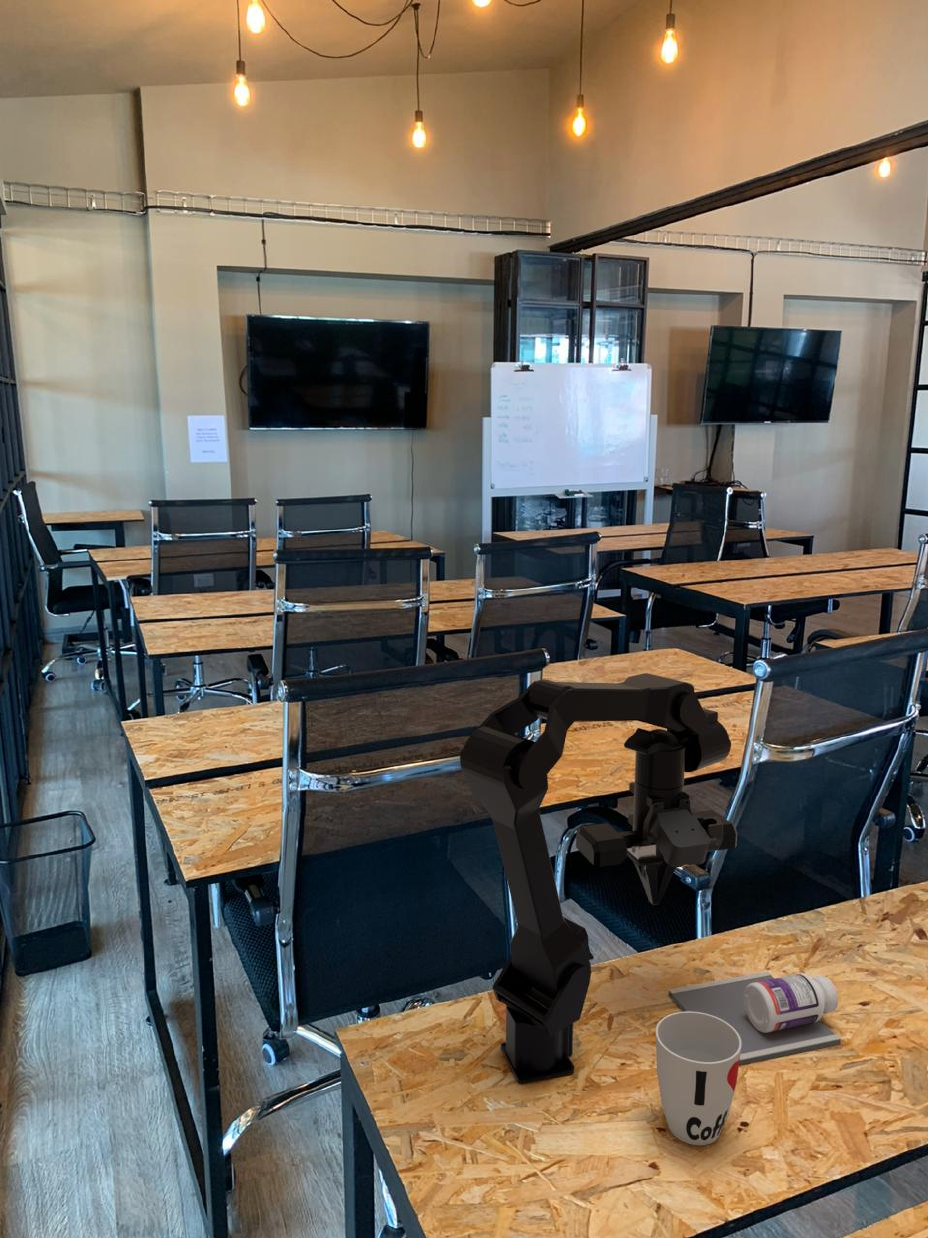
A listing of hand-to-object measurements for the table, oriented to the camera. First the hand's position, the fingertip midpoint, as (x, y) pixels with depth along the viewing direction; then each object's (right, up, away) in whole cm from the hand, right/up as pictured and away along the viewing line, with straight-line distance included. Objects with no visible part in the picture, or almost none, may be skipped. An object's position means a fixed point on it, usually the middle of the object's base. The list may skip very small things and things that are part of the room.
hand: (654, 903), depth 112 cm
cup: (0, -16, -20) cm, 26 cm away
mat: (+11, -13, -3) cm, 17 cm away
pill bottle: (+10, -10, -6) cm, 16 cm away
